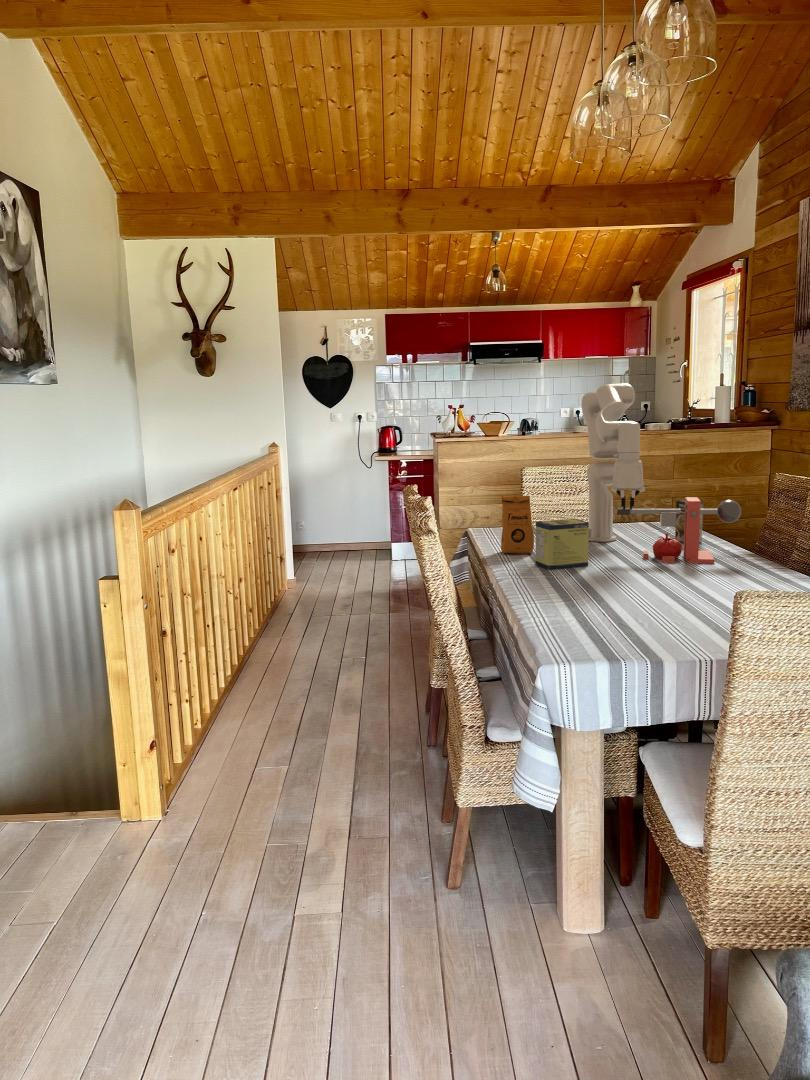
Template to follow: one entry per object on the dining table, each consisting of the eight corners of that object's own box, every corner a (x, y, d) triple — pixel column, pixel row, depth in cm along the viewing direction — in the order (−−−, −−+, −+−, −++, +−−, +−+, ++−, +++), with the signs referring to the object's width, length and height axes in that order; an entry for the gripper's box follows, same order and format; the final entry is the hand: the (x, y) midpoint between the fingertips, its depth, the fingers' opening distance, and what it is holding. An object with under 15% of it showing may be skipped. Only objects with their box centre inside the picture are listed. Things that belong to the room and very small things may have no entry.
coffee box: (674, 539, 317) (675, 500, 314) (687, 538, 319) (689, 499, 316) (688, 543, 308) (690, 502, 306) (702, 542, 310) (704, 501, 307)
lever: (617, 526, 281) (617, 501, 279) (617, 523, 288) (617, 498, 287) (742, 527, 270) (743, 501, 268) (739, 523, 277) (740, 498, 276)
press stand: (644, 562, 276) (645, 501, 273) (643, 553, 292) (644, 496, 288) (714, 563, 270) (716, 502, 267) (709, 554, 286) (711, 496, 282)
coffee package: (534, 555, 294) (534, 496, 290) (500, 555, 296) (500, 497, 292) (533, 550, 304) (533, 493, 300) (501, 550, 306) (500, 494, 302)
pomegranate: (676, 562, 275) (677, 536, 273) (648, 559, 281) (649, 534, 279) (685, 557, 283) (686, 531, 281) (658, 554, 289) (658, 529, 287)
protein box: (589, 566, 273) (589, 521, 270) (548, 570, 268) (548, 525, 265) (573, 560, 282) (574, 518, 280) (534, 564, 278) (534, 521, 275)
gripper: (605, 458, 278) (604, 509, 281) (652, 457, 274) (650, 510, 277) (606, 456, 285) (605, 507, 288) (651, 456, 281) (650, 507, 284)
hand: (627, 508), depth 282 cm, fingers closed
